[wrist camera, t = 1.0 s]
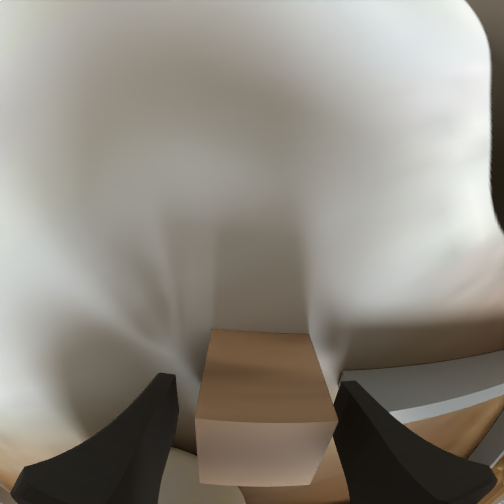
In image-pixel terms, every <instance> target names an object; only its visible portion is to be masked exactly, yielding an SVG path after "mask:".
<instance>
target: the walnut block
mask: <svg viewBox="0 0 504 504" xmlns="http://www.w3.org/2000/svg"><path fill="white" fill-rule="evenodd" d="M337 423H338V418H337V415H336V412H335V409H334V406H333V403H332V400H331V397H330V394H329V391H328V388H327V385H326V382H325V379H324V376H323V373H322V370H321V367H320V364H319V361H318V359H317V356H316V353H315V350H314V347H313V344H312V341H311V338H310V336H309V334H288V333H265V332H247V331H232V330H219V329H212V331H211V336H210V341H209V346H208V351H207V356H206V361H205V366H204V371H203V376H202V382H201V387H200V392H199V397H198V403H197V408H196V414H195V430H196V444H197V456H198V468H199V478H200V483H204V484H214V485H228V486H252V487H275V486H299V485H309V484H310V482H311V480H312V478H313V476H314V474H315V472H316V470H317V468H318V466H319V464H320V462H321V460H322V458H323V456H324V453H325V451H326V449H327V447H328V444H329V442H330V440H331V438H332V435H333V433H334V430H335V428H336V426H337Z"/></svg>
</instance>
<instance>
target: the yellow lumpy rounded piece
mask: <svg viewBox="0 0 504 504" xmlns="http://www.w3.org/2000/svg"><path fill="white" fill-rule="evenodd" d="M497 468H498V469H499V470H502V479H503V484H504V457H503V458H501V459H500V460H499V461H498V462H497Z"/></svg>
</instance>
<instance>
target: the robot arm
mask: <svg viewBox="0 0 504 504" xmlns="http://www.w3.org/2000/svg"><path fill="white" fill-rule="evenodd" d="M333 406H334V409H335V412H336V415H337V418H338V423H337V426H336V428H335V430H334V433H333V438H334V442H335V445H336V448H337V452H338V455H339V458H340V461H341V464H342V468H343V471H344V474H345V477H346V481H347V485H348V490H349V496H350V503H351V504H476V503H478V502H479V501H480V500H481V499H482V498H483V497H484V496H485V495H487V494H488V493H489V492H490V491H491V490H492V489H493V488H494V486H495V485H496V483H497V478H496V476H495V475H494V473H493V471H492V470H491V468H490V467H489V465H485V464H481V463H477V462H473V461H470V460H467V459H464V458H461V457H458V456H456V455H453V454H451V453H449V452H447V451H444V450H442V449H440V448H439V447H437V446H435V445H433V444H431V443H429V442H428V441H426V440H424V439H423V438H421V437H420V436H418V435H417V434H415V433H414V432H412V431H411V430H410V429H408V428H407V427H406V426H404V425H403V424H402V423H401V422H399V421H398V420H397V419H396V418H395V417H393V416H392V415H391V414H390V413H389V412H388V411H387V410H386V409H385V408H383V407H382V406H381V405H380V404H379V403H378V402H377V401H376V400H375V399H374V398H373V397H372V396H371V395H370V394H369V393H368V392H367V391H366V390H365V389H364V388H363V387H362V386H361V385H360V384H359V383H358V382H357V381H356V380H354V381H341V384H340V387H339V390H338V393H337V396H336V399H335V402H334V404H333ZM178 413H179V407H178V397H177V387H176V376H175V375H173V374H166V373H159V374H157V376H156V377H155V378H154V379H153V380H152V382H151V383H150V384H149V385H148V386H147V388H146V389H145V390H144V391H143V392H142V393H141V394H140V395H139V396H138V397H137V398H136V400H135V401H134V402H133V403H132V404H131V405H130V406H129V407H128V408H127V409H126V410H125V411H123V412H122V413H121V414H120V415H119V416H118V417H117V418H116V419H115V420H114V421H112V422H111V423H110V424H109V425H107V426H106V427H105V428H104V429H102V430H101V431H100V432H98V433H97V434H95V435H94V436H92V437H91V438H89V439H88V440H86V441H85V442H83V443H81V444H80V445H78V446H76V447H74V448H72V449H70V450H68V451H66V452H64V453H62V454H60V455H58V456H56V457H53V458H51V459H48V460H45V461H42V462H39V463H36V464H33V465H30V466H26V467H24V469H23V470H22V472H21V473H20V475H19V477H18V479H17V481H16V483H15V485H14V487H13V489H12V491H11V493H10V494H11V496H12V498H13V499H14V500H15V501H16V502H17V503H18V504H158V498H159V491H160V485H161V480H162V476H163V473H164V469H165V466H166V462H167V459H168V456H169V452H170V449H171V445H172V442H173V439H174V435H175V431H176V425H177V419H178ZM0 504H1V503H0ZM498 504H504V500H503V501H501V502H500V503H498Z"/></svg>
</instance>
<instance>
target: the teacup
mask: <svg viewBox="0 0 504 504" xmlns="http://www.w3.org/2000/svg"><path fill="white" fill-rule="evenodd" d="M158 504H246V503H245V500H244V497H243V494H242V492H241V491H240V489H239V487H238V486H228V485H214V484H204V483H200V478H199V468H198V456H196V455H193V454H191V453H189V452H186V451H183V450H180V449H177V448H174V447H171V449H170V452H169V456H168V459H167V462H166V466H165V469H164V473H163V476H162V480H161V485H160V491H159V498H158Z"/></svg>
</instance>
